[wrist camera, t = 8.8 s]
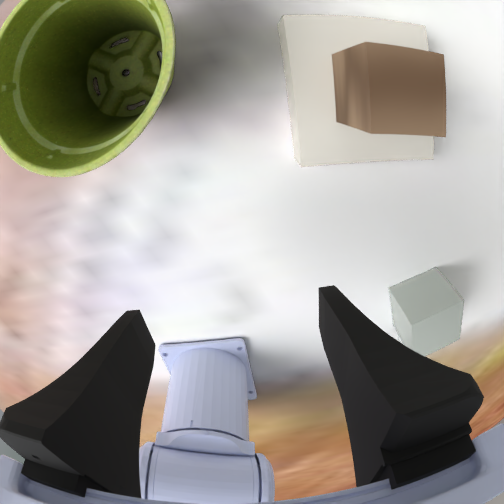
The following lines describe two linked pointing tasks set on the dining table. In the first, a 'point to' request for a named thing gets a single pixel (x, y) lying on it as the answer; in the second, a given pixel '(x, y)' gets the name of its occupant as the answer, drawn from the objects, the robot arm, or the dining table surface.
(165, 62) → the plant pot
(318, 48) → the cream block
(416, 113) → the walnut block
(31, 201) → the dining table surface
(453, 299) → the grey cube
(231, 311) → the dining table surface
